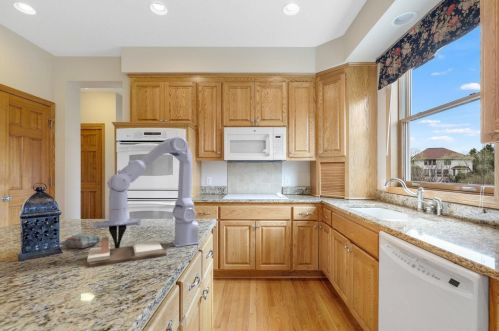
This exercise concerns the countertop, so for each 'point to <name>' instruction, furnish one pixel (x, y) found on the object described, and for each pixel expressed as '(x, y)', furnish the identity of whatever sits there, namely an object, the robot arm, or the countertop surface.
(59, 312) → the countertop surface
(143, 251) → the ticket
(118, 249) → the board
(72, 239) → the packaged food
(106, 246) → the stub
